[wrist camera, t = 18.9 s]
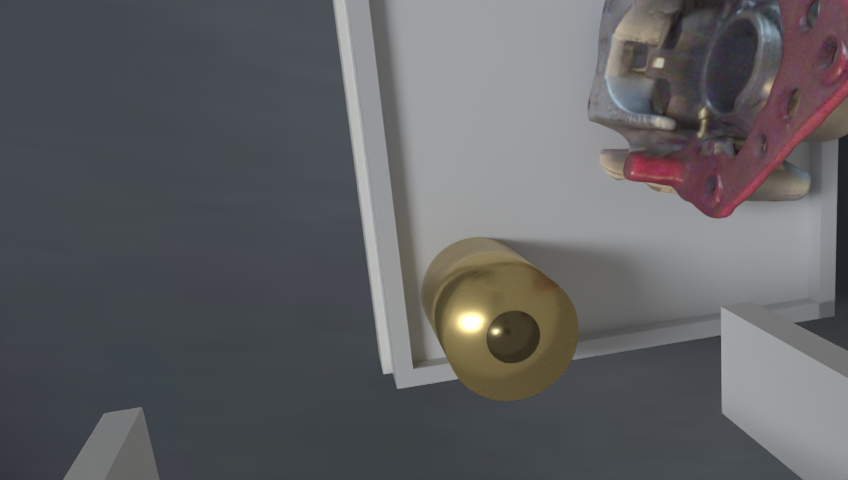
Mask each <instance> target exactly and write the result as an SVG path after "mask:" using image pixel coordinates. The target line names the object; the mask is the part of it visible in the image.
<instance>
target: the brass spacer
mask: <svg viewBox="0 0 848 480" xmlns="http://www.w3.org/2000/svg"><path fill="white" fill-rule="evenodd" d="M421 300H422V306H423V309H424V312H425V315H426V317H427V319H428V321H429V323H430V325H431V327H432V329H433V331H434V333H435V335H436V337H437V339H438V341H439V343H440V345H441V347H442V349H443V351H444V353H445V355H446V357H447V359H448V361H449V363H450V365H451V367H452V369H453V371H454V373H455V374H456V376H457V377H458V378H459V380H460V381H461V382H462V383H463V384H464V385H465V386H467V387H468V388H469V389H470V390H472V391H473V392H475V393H477V394H479V395H481V396H483V397H486V398H489V399H493V400H500V401H513V400H520V399H525V398H528V397H531V396H534V395H536V394H538V393H540V392H542V391H544V390H545V389H547V388H548V387H550V386H551V385H552V384H553V383H554V382H556V381H557V380H558V379H559V377H560V376H561V375H562V374H563V373H564V372H565V370H566V369H567V367H568V366H569V364H570V362H571V360H572V358H573V356H574V353H575V351H576V347H577V343H578V336H579V325H578V318H577V314H576V310H575V308H574V306H573V303H572V301H571V300H570V298H569V296H568V295H567V294H566V293H565V291H564V290H563V289H562V288H561V287H560V286H559V285H558V284H557V283H555V282H554V281H553V280H552V279H550V278H549V277H548V276H546V275H545V274H544V273H543V272H541V271H540V270H539V269H537V268H536V267H535V266H534V265H532V264H531V263H530V262H528V261H527V260H526V259H525V258H523V257H522V256H521V255H519V254H518V253H517V252H516V251H514V250H513V249H512V248H510V247H509V246H507V245H506V244H504V243H502V242H500V241H498V240H495V239H491V238H486V237H472V238H467V239H463V240H460V241H457V242H455V243H453V244H451V245H449V246H448V247H446V248H445V249H443V250H442V251H441V252H440V253H439V254H438V255H437V256H436V257H435V258H434V259H433V261H432V262H431V264H430V265H429V267H428V269H427V271H426V273H425V276H424V278H423V283H422V289H421Z"/></svg>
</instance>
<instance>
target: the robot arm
mask: <svg viewBox="0 0 848 480" xmlns="http://www.w3.org/2000/svg"><path fill="white" fill-rule="evenodd" d="M721 368H722V413H723V414H724V415H725V416H726V417H728V418H729V419H730V420H731V421H733V422H734V423H735V424H736V425H737V426H739V427H740V428H741V429H742V430H743V431H745V432H746V433H747V434H748V435H750V436H751V437H752V438H753V439H754V440H756V441H757V442H758V443H759V444H760V445H762V446H763V447H764V448H765V449H767V450H768V451H769V452H770V453H771V454H773V455H774V456H775V457H776V458H778V459H779V460H780V461H781V462H782V463H784V464H785V465H786V466H787V467H788V468H790V469H791V470H792V471H793V472H795V473H796V474H797V475H798V476H799V477H801V478H802V479H803V480H848V351H847V350H845V349H843V348H841V347H839V346H837V345H835V344H833V343H831V342H829V341H827V340H825V339H823V338H821V337H819V336H818V335H816V334H814V333H812V332H810V331H808V330H806V329H804V328H802V327H800V326H798V325H796V324H794V323H792V322H790V321H788V320H786V319H784V318H783V317H781V316H779V315H777V314H775V313H773V312H771V311H769V310H767V309H765V308H763V307H761V306H759V305H757V304H755V303H753V302H745V303H739V304H733V305H727V306H722V307H721ZM63 480H159V476H158V472H157V468H156V464H155V459H154V455H153V451H152V447H151V443H150V439H149V434H148V430H147V426H146V422H145V418H144V413H143V409H142V407H138V408H133V409H127V410H121V411H115V412H110V413H104V414H103V416H102V418H101V419H100V421H99V423H98V424H97V426H96V427H95V429H94V431H93V432H92V434H91V436H90V437H89V439H88V440H87V442H86V444H85V445H84V447H83V449H82V450H81V452H80V453H79V455H78V457H77V458H76V460H75V462H74V463H73V465H72V466H71V468H70V470H69V471H68V473H67V475H66V476H65V478H64V479H63Z"/></svg>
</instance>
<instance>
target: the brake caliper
mask: <svg viewBox="0 0 848 480" xmlns="http://www.w3.org/2000/svg"><path fill="white" fill-rule="evenodd" d="M815 1H816V0H605V3H604V7H603V12H602V17H601V22H600V29H599V40H598V55H597V66H596V72H595V76H594V80H593V84H592V87H591V91H590V95H589V100H588V119H589V121H591V122H595V123H599V124H601V125H603V126H605V127H608V128H610V129H612V130H614V131H616V132H618V133H619V134H621V135H622V136H623V137H624V138H625V139H626V140H627V141H628V143H629V149H603V150H601V151H600V164H601V165H602V166H603V167H604V168H605V170H606V171H607V172H608V174H609V175H610V176H611V177H613V178H615V179H616V180H622V179H627V180H630V181H635V182H645V183H646V184H647V185H648V186H649V187H650V188H651V189H653V190H655V191H658V192H663V193H672V194H678V195H679V196H680V197H681V198H682V199H683V200H685V201H687V202H690V203H692V204H693V205H694V206H695V207H696V208H697V209H698V210H700V211H701V212H702V213H703V214H705V215H706V216H708V217H711V218H716V219H720V218H726V217H728V216H730V215H731V214H732V213H733V211H734V210H735V208H736V207H737V206H739V205H740V204H741V203H743V202H744V201H771V202H773V201H796V200H800V199H802V198H803V197H805V196H806V194H807V193H808V191H809V189H810V185H811V176H810V175H809V174H808V173H807V172H806V171H804V170H802V169H800V168H798V167H797V166H795V165H793V164H791V163H789V162H787V161H786V160H785V159H786V158H787V157H788V156H789V154H790V153H791V152H792V151H793V149H794V148H795V147H796V146H797V145H798V144H799V143H800V142H802V141H803V142H826V141H831V140H834V139H838V138H841V137H843V136H845V135H847V134H848V0H817V1H818V6H816V5H813V3H814V2H815Z"/></svg>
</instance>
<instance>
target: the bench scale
mask: <svg viewBox="0 0 848 480" xmlns="http://www.w3.org/2000/svg"><path fill="white" fill-rule="evenodd" d="M604 3H605V0H333V6H334V14H335V21H336V29H337V37H338V44H339V52H340V60H341V67H342V75H343V82H344V90H345V98H346V105H347V113H348V120H349V128H350V136H351V143H352V151H353V158H354V166H355V174H356V181H357V189H358V196H359V204H360V212H361V219H362V227H363V235H364V242H365V250H366V257H367V265H368V273H369V280H370V288H371V295H372V303H373V311H374V318H375V326H376V333H377V341H378V349H379V356H380V362H381V366H382V370H383V374H388V373H393V375H394V379H395V382H396V386H397V389H400V388H406V387H412V386H418V385H424V384H430V383H436V382H442V381H448V380H454V379H459V378H458V377H457V376H456V374H455V373H454V371H453V369H452V367H451V365H450V363H449V361H448V359H447V357H446V355H445V353H444V351H443V349H442V347H441V345H440V343H439V341H438V339H437V337H436V335H435V333H434V331H433V329H432V327H431V325H430V323H429V321H428V319H427V317H426V315H425V312H424V309H423V306H422V300H421V289H422V283H423V278H424V276H425V273H426V271H427V269H428V267H429V265H430V264H431V262H432V261H433V259H434V258H435V257H436V256H437V255H438V254H439V253H440V252H441V251H442V250H443V249H445V248H446V247H448V246H449V245H451V244H453V243H455V242H457V241H460V240H463V239H467V238H472V237H486V238H491V239H495V240H498V241H500V242H502V243H504V244H506V245H507V246H509V247H510V248H512V249H513V250H514V251H516V252H517V253H518V254H519V255H521V256H522V257H523V258H525V259H526V260H527V261H528V262H530V263H531V264H532V265H534V266H535V267H536V268H537V269H539V270H540V271H541V272H543V273H544V274H545V275H546V276H548V277H549V278H550V279H552V280H553V281H554V282H555V283H557V284H558V285H559V286H560V287H561V288H562V289H563V290H564V291H565V293H566V294H567V295H568V296H569V298H570V300H571V301H572V303H573V306H574V308H575V310H576V314H577V318H578V325H579V336H578V343H577V347H576V351H575V353H574V356H573V358H572V360H574V359H580V358H586V357H592V356H598V355H604V354H610V353H616V352H622V351H628V350H634V349H640V348H646V347H652V346H658V345H664V344H670V343H676V342H682V341H688V340H694V339H700V338H706V337H712V336H718V335H721V307H722V306H727V305H733V304H739V303H745V302H753V303H755V304H757V305H759V306H761V307H763V308H765V309H767V310H769V311H771V312H773V313H775V314H777V315H779V316H781V317H783V318H784V319H786V320H788V321H790V322H792V323H797V322H803V321H809V320H815V319H821V318H827V317H833V316H835V273H836V226H837V180H838V139H834V140H831V141H826V142H803V141H802V142H800V143H799V144H798V145H797V146H796V147H795V148H794V149H793V151H792V152H791V153H790V154H789V156H788V157H787V158H786V159H785V160H786V161H787V162H789V163H791V164H793V165H795V166H797V167H798V168H800V169H802V170H804V171H806V172H807V173H808V174H809V175H810V176H811V185H810V189H809V191H808V193H807V194H806V196H805V197H803V198H802V199H800V200H796V201H773V202H771V201H744V202H743V203H741V204H740V205H739V206H737V207H736V208H735V210H734V211H733V213H732V214H731V215H730V216H728V217H726V218H720V219H716V218H711V217H708V216H706V215H705V214H703V213H702V212H701V211H700V210H698V209H697V208H696V207H695V206H694V205H693V204H692V203H690V202H687V201H685V200H683V199H682V198H681V197H680V196H679V195H678V194H672V193H663V192H658V191H655V190H653V189H651V188H650V187H649V186H648V185H647V184H646V183H645V182H635V181H630V180H627V179H622V180H616V179H615V178H613V177H611V176H610V175H609V174H608V172H607V171H606V170H605V168H604V167H603V166H602V165H601V164H600V151H601V150H603V149H629V143H628V141H627V140H626V139H625V138H624V137H623V136H622V135H621V134H619V133H618V132H616V131H614V130H612V129H610V128H608V127H605V126H603V125H601V124H599V123H595V122H591V121H589V119H588V100H589V95H590V91H591V87H592V84H593V80H594V76H595V72H596V66H597V55H598V40H599V29H600V22H601V17H602V12H603V7H604ZM813 5H816V6H818V1H817V0H816V1H815V2H814V3H813Z"/></svg>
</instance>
